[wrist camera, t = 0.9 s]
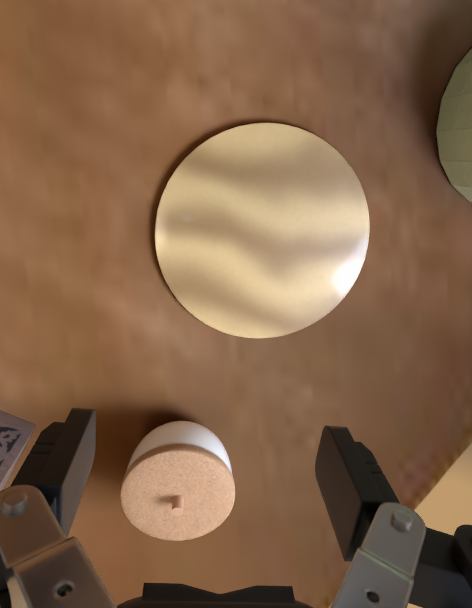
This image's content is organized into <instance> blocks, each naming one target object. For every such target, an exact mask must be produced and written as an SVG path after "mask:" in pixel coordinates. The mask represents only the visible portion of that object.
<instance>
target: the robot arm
mask: <svg viewBox="0 0 472 608" xmlns="http://www.w3.org/2000/svg"><path fill="white" fill-rule="evenodd" d="M95 445H96V410H95V409H80V408H72V410H71V412H70V414H69V416H68V418H67V420H66V421H65V423H60V422H53V423H52V424H51V425H49V426H48V427H47V428H46V429H44V430H43V431H42V432H41V434H40V435H39V437H38V439H37V441H36V442H35V445H34V446H33V448H32V449H31V451H30V454H29V455H28V456H27V458H26V460H25V462H24V463H23V465H22V467H21V469H20V470H19V472H18V474H17V476H16V477H15V479H14V481H13V482H12V484H11V486H10V487H8V488H6V489H4V490H2V491H0V608H313V607H311V606H309V605H307V604H304V603H302V602H300V601H297V600H295V599H294V594H293V589H292V586H253V587H249V588H245V589H241V590H237V591H233V592H228V593H224V594H216V593H212V592H209V591H205V590H202V589H198V588H195V587H191V586H188V585H184V584H169V583H144V587H143V595H142V596H141V597H137V598H134V599H131V600H128V601H126V602H124V603H122V604H120V605H118V606H116V605H115V603H114V601H113V600H112V598H111V596H110V594H109V593H108V591H107V589H106V587H105V586H104V584H103V582H102V580H101V579H100V577H99V575H98V574H97V572H96V570H95V568H94V567H93V565H92V563H91V561H90V560H89V558H88V556H87V554H86V553H85V551H84V549H83V547H82V546H81V544H80V542H79V541H78V539H77V538H76V537H71V538H69V539H67V537H68V534H69V531H70V528H71V525H72V522H73V519H74V517H75V514H76V511H77V508H78V505H79V502H80V499H81V497H82V494H83V491H84V488H85V485H86V482H87V480H88V477H89V474H90V471H91V468H92V465H93V461H94V456H95ZM315 474H316V479H317V482H318V485H319V488H320V491H321V494H322V497H323V500H324V503H325V505H326V508H327V511H328V514H329V517H330V520H331V523H332V526H333V529H334V532H335V534H336V537H337V540H338V543H339V546H340V549H341V552H342V555H343V558H344V561H352V562H351V564H350V566H349V568H348V571H347V573H346V575H345V577H344V579H343V581H342V584H341V586H340V588H339V590H338V592H337V595H336V597H335V599H334V601H333V603H332V606H331V608H407V605H408V603H411V604H414V605H417V606H419V607H423V608H472V525H461V526H459V527H458V528H457V529H456V531H455V534H454V536H453V535H449V534H446V533H443V532H439V531H436V530H433V529H430V528H427V527H426V526H425V523H424V522H423V520H422V519H421V517H420V516H419V515H418V514H417V513H416V512H415V511H413V510H412V509H410V508H409V507H407V506H405V505H402V504H400V502H399V501H398V499H397V497H396V495H395V493H394V492H393V490H392V488H391V486H390V484H389V483H388V481H387V479H386V477H385V475H384V474H383V472H382V470H381V468H380V466H379V465H378V463H377V461H376V459H375V457H374V456H373V454H372V452H371V451H370V450H369V449H368V448H366V447H365V446H364V445H363V444H362V443H361V442H354V440H353V438H352V436H351V434H350V432H349V430H348V429H347V427H339V426H325V427H324V428H323V431H322V436H321V440H320V444H319V449H318V453H317V457H316V462H315Z"/></svg>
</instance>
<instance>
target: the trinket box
mask: <svg viewBox="0 0 472 608" xmlns="http://www.w3.org/2000/svg"><path fill="white" fill-rule="evenodd" d="M234 500H235V486H234V480H233V476H232V470H231V464H230V461H229V458H228V454H227V452H226V450H225V448H224V446H223V444H222V442H221V441H220V440H219V439H218V437H217V436H216V435H215V434H214V433H213V432H212V431H210V430H209V429H207V428H206V427H204V426H202V425H200V424H197V423H194V422H189V421H174V422H169V423H166V424H163V425H161V426H159V427H157V428H155V429H154V430H152V431H151V432H150V433H148V434H147V435H146V436H145V437H144V438H143V439H142V440H141V442H140V443H139V444H138V446H137V448H136V449H135V451H134V453H133V455H132V457H131V459H130V462H129V464H128V467H127V471H126V473H125V476H124V479H123V481H122V485H121V491H120V501H121V505H122V509H123V511H124V513H125V515H126V516H127V518H128V519H129V521H130V522H131V523H132V524H133V525H134V526H135V527H137V528H138V529H139V530H141V531H142V532H144V533H146V534H148V535H150V536H153V537H156V538H160V539H164V540H188V539H193V538H197V537H200V536H202V535H205V534H207V533H209V532H211V531H212V530H214V529H215V528H216V527H218V526H219V525H220V524H221V523H222V522H223V521H224V520H225V519H226V518H227V516H228V515H229V513H230V511H231V509H232V507H233V504H234Z"/></svg>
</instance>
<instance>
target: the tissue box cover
mask: <svg viewBox="0 0 472 608" xmlns="http://www.w3.org/2000/svg"><path fill="white" fill-rule="evenodd" d="M35 426H36V425H34V424H31V423H29V422H27V421H24V420H22V419H19V418H17V417H14V416H12V415H10V414H7V413H5V412H2V411H0V491H2V490H3V488H4V486H5V484H6V482H7V480H8V478H9V476H10V474H11V473H12V471H13V469H14V467H15V465H16V463H17V461H18V459H19V457H20V455H21V453H22V451H23V450H24V448H25V446H26V444H27V442H28V440H29V438H30V436H31V434H32V432H33V430H34V428H35Z"/></svg>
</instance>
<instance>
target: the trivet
mask: <svg viewBox="0 0 472 608" xmlns="http://www.w3.org/2000/svg"><path fill="white" fill-rule="evenodd" d="M369 229H370V224H369V211H368V206H367V202H366V197H365V195H364V192H363V189H362V186H361V184H360V182H359V180H358V178H357V176H356V174H355V172H354V171H353V169H352V168H351V166H350V165H349V164H348V162H347V161H346V160H345V159H344V157H343V156H342V155H341V154H340V153H339V152H338V151H337V150H336V149H335V148H333V147H332V146H331V145H330V144H328V143H327V142H326V141H324V140H323V139H321V138H319V137H318V136H316V135H314V134H313V133H310V132H308V131H305V130H303V129H300V128H297V127H293V126H289V125H285V124H278V123H252V124H247V125H242V126H237V127H234V128H231V129H228V130H225V131H223V132H221V133H219V134H217V135H215V136H213V137H211V138H209V139H208V140H206V141H205V142H203V143H202V144H200V145H199V146H198V147H196V148H195V149H194V150H193V151H192V152H191V153H190V154H189V155H188V156H186V157H185V159H184V160H183V161H182V162H181V163H180V165H179V166H178V167H177V168H176V170H175V171H174V173H173V174H172V176H171V178H170V179H169V181H168V183H167V185H166V187H165V189H164V191H163V194H162V196H161V199H160V203H159V206H158V209H157V215H156V221H155V246H156V254H157V258H158V262H159V266H160V269H161V271H162V274H163V276H164V279H165V281H166V283H167V284H168V286H169V288H170V290H171V292H172V293H173V294H174V296H175V297H176V298H177V300H178V301H179V302H180V303H181V304H182V305H183V306H184V307H185V308H186V310H187V311H188V312H190V313H191V314H192V315H193V316H195V317H196V318H197V319H198V320H200V321H202V322H203V323H205V324H207V325H208V326H210V327H212V328H214V329H217V330H219V331H221V332H224V333H228V334H231V335H234V336H240V337H246V338H271V337H277V336H282V335H287V334H290V333H293V332H296V331H299V330H301V329H303V328H305V327H308V326H310V325H311V324H313V323H315V322H316V321H318V320H320V319H321V318H322V317H324V316H325V315H326V314H328V313H329V312H330V311H331V310H332V309H333V308H334V307H335V306H337V305H338V304H339V303H340V302H341V300H342V299H343V298H344V297H345V295H346V294H347V293H348V292H349V290H350V289H351V287H352V285H353V284H354V282H355V281H356V279H357V277H358V275H359V272H360V270H361V268H362V265H363V262H364V259H365V256H366V252H367V247H368V242H369Z"/></svg>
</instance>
